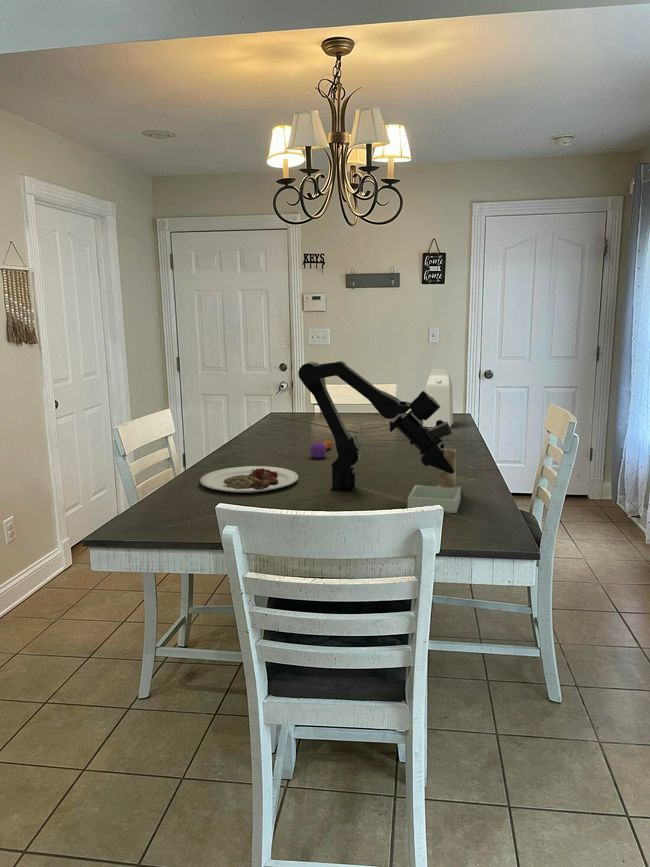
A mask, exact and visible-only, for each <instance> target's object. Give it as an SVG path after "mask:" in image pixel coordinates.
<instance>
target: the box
mask: <svg viewBox="0 0 650 867" xmlns="http://www.w3.org/2000/svg"><path fill="white" fill-rule="evenodd" d="M436 486H437V485H436ZM436 486H435V485H431V486H430V485H420V484H419V485H417V484H415V485H414V487H413V488H412V489H411V491H410V493H409V494H408V496H407V509H408V508H412V507H423V506H433V505H440V506H442V507H443V508H444V511H445V513H444V514H452V513H456V514H457V512H458V509H459V507H460V503H461V500H462V499H461V498H462V497H461V496H462V495H461V494H462V487H461V488H451V487H436Z"/></svg>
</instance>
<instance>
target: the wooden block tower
mask: <svg viewBox="0 0 650 867" xmlns="http://www.w3.org/2000/svg"><path fill="white" fill-rule="evenodd" d="M444 457H445V458H446V460H447V461H448V463H449V464H450V466H451V467H452V469H453V470H454V472H453V473H452V474H450V473H448V472H446V471H443V470H441V469H439V484H436V487H451V488H461V489H462V486H456V474H457V472H456V471H457V448H444Z"/></svg>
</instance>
